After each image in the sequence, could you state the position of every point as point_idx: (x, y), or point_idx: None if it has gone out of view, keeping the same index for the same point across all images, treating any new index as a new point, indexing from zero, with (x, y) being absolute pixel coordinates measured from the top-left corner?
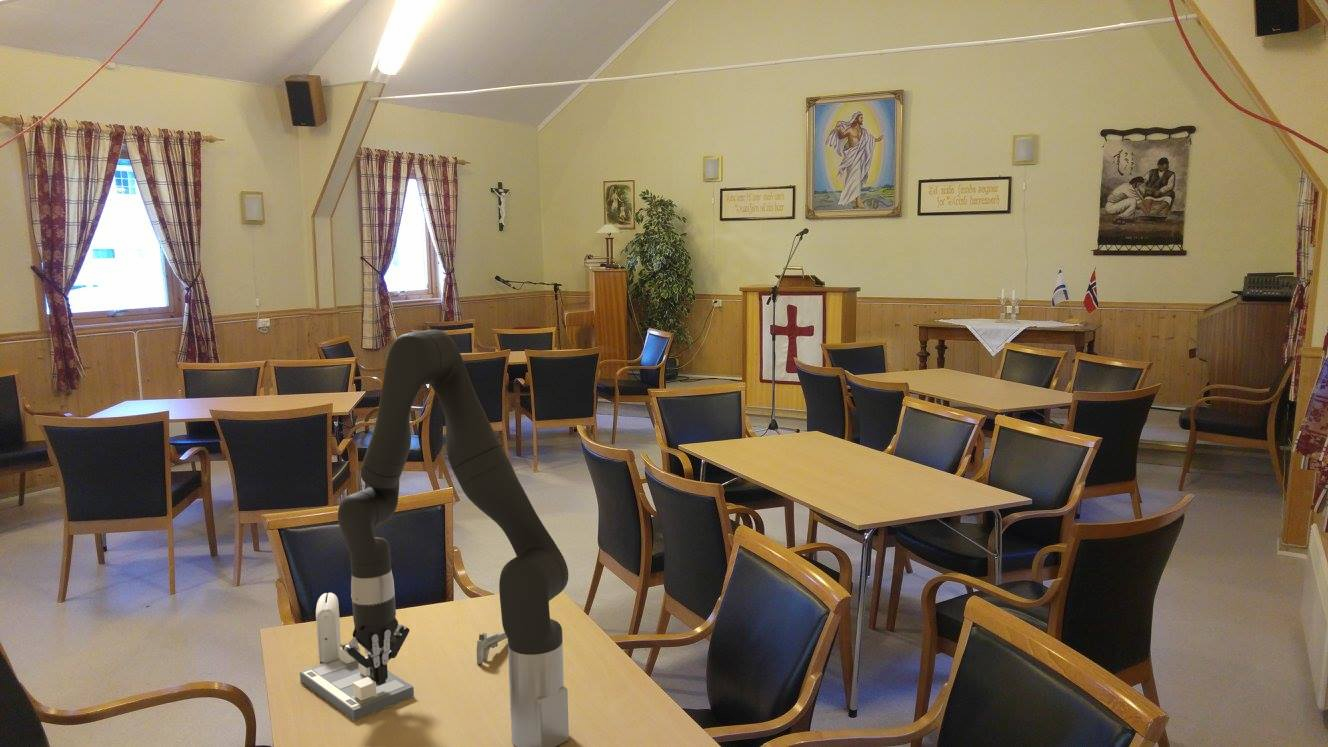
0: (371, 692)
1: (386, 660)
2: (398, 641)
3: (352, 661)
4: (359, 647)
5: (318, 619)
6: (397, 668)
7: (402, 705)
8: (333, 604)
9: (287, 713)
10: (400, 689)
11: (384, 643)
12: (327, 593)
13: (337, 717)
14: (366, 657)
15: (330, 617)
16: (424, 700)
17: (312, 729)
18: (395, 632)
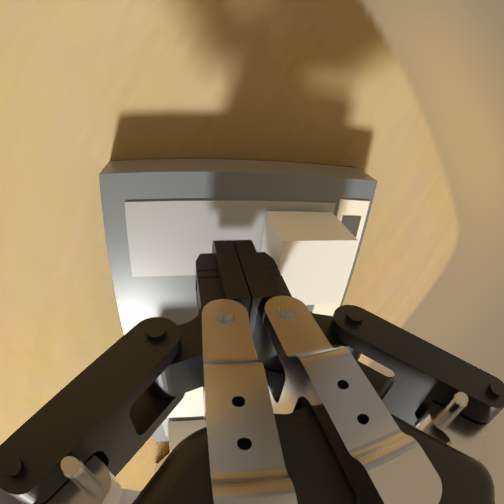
0: (294, 219)
1: (218, 316)
2: (101, 416)
3: (191, 421)
4: (171, 450)
5: None
6: (83, 355)
7: (180, 127)
8: None
9: (395, 321)
10: (155, 189)
11: (270, 434)
12: None
13: (366, 227)
14: (184, 414)
15: None
16: (96, 101)
17: (429, 219)
18: (111, 496)
